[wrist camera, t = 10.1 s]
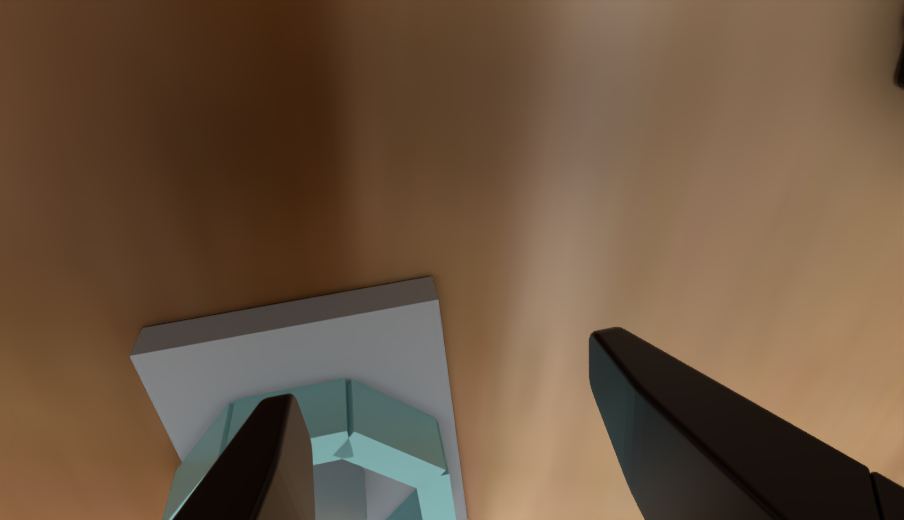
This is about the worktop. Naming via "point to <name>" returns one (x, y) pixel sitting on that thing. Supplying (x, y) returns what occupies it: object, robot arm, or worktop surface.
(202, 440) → the teal ring
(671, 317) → the worktop surface
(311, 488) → the robot arm
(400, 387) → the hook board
